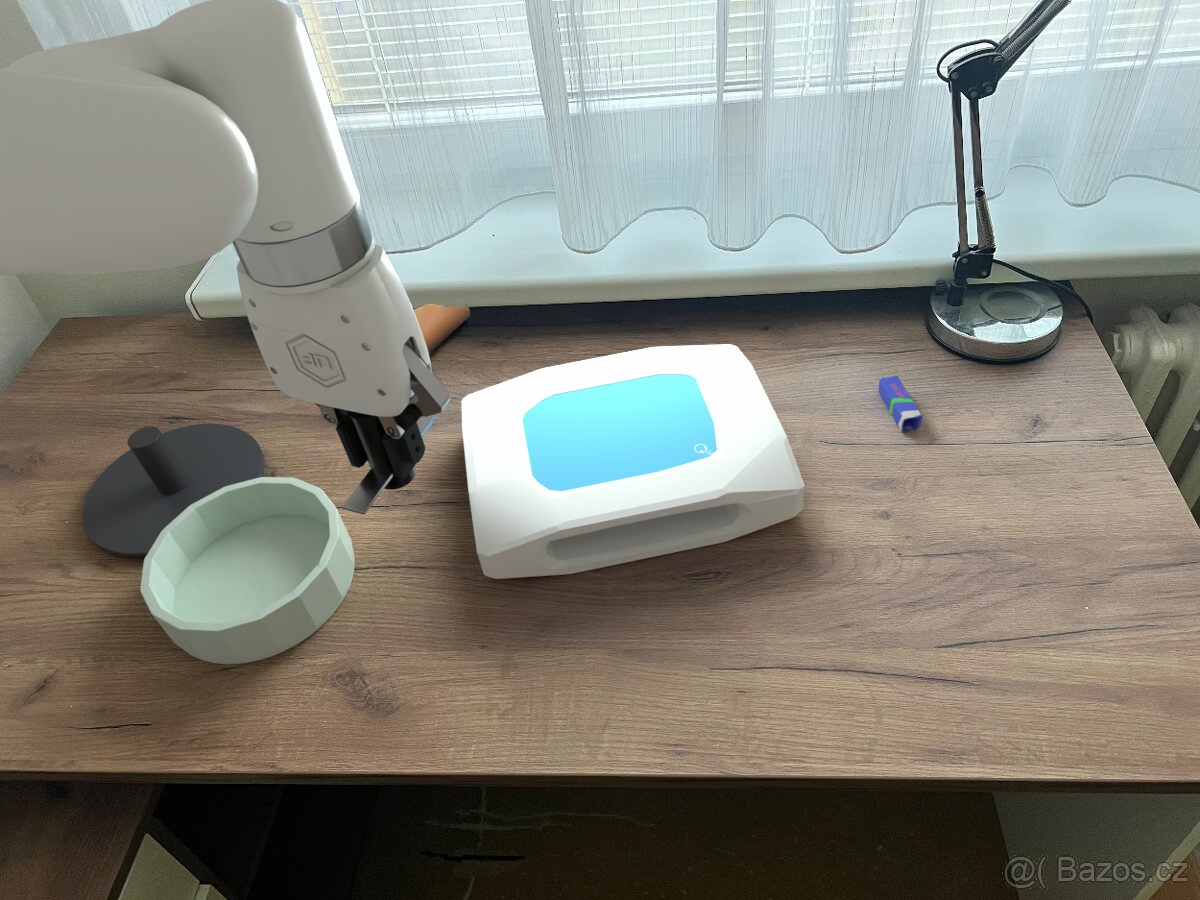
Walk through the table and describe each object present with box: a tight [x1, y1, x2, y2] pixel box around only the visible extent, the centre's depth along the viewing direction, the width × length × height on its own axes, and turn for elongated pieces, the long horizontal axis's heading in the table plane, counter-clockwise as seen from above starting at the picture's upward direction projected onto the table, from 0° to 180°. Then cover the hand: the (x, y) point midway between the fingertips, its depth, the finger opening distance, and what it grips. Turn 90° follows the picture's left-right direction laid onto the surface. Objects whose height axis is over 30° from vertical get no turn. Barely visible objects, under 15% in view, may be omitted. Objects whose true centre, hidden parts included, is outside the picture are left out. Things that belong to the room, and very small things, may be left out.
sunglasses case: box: [413, 303, 471, 355], centre depth 98 cm, size 18×7×7 cm
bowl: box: [139, 476, 356, 665], centre depth 76 cm, size 17×17×5 cm
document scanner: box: [460, 343, 806, 580], centre depth 81 cm, size 21×28×6 cm
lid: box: [81, 423, 265, 558], centre depth 85 cm, size 18×18×8 cm
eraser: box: [878, 375, 923, 432], centre depth 85 cm, size 2×6×2 cm, turn 7°
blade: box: [341, 410, 436, 516], centre depth 62 cm, size 10×3×7 cm, turn 158°
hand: (389, 457), depth 63 cm, fingers closed on blade, 3 cm apart
